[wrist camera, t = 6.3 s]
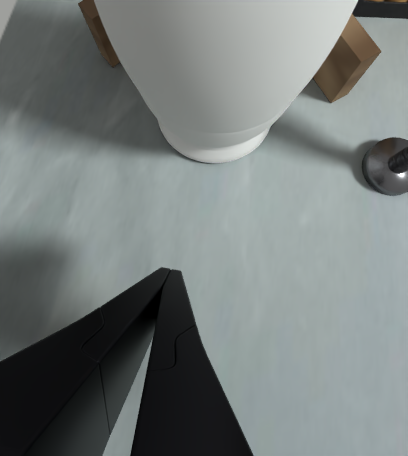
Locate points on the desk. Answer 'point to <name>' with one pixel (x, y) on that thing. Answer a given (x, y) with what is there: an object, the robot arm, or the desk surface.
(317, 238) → the desk surface
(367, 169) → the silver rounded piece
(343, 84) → the wooden block
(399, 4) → the ammunition clip
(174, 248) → the desk surface
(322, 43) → the jar
